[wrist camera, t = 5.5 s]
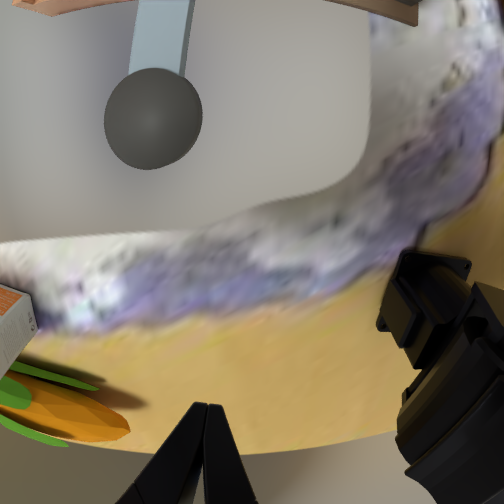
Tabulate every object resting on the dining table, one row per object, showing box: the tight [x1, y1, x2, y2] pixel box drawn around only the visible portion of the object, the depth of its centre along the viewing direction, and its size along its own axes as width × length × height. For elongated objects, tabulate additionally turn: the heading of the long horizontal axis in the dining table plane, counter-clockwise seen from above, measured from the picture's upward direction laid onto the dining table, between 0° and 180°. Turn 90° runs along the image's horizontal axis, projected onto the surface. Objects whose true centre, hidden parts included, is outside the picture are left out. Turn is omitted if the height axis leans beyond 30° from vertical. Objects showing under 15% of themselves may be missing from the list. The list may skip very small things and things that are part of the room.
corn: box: [0, 361, 131, 447], centre depth 23 cm, size 7×8×20 cm
